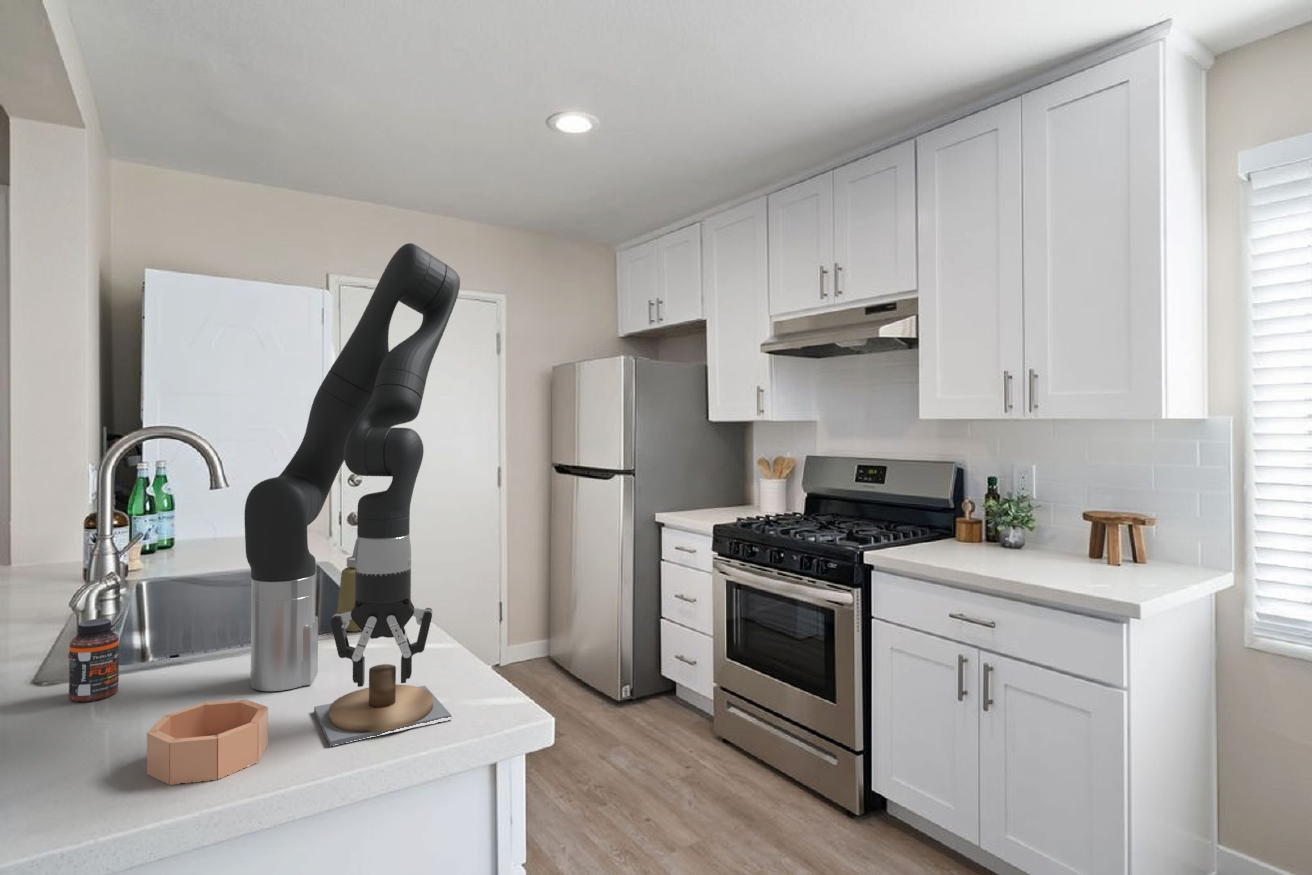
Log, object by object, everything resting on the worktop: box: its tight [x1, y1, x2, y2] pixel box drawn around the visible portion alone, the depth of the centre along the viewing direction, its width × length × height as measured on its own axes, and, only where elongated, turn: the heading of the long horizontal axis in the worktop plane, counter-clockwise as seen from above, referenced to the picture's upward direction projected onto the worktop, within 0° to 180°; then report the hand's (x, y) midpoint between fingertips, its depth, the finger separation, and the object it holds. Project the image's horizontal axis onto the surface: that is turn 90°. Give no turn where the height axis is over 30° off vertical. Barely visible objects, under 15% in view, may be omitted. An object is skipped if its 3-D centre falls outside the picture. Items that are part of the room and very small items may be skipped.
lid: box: [329, 663, 433, 732], centre depth 103 cm, size 14×14×6 cm
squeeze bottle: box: [336, 538, 361, 632], centre depth 145 cm, size 8×8×18 cm
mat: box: [313, 685, 452, 747], centre depth 104 cm, size 16×13×1 cm
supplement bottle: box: [68, 618, 120, 703], centre depth 109 cm, size 6×6×11 cm
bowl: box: [146, 698, 269, 786], centre depth 90 cm, size 12×12×5 cm
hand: (382, 682), depth 103 cm, fingers open, 5 cm apart
